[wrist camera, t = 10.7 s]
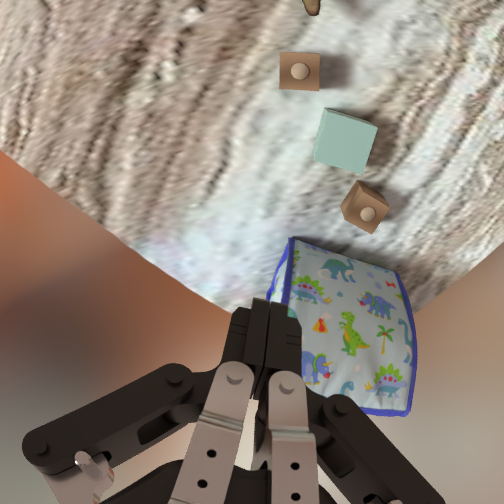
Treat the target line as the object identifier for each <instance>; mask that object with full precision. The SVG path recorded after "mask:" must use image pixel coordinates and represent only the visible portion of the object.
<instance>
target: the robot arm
mask: <svg viewBox="0 0 504 504" xmlns="http://www.w3.org/2000/svg"><path fill="white" fill-rule="evenodd" d="M253 393H254V394H253ZM252 395H253V399H254V400H259V403H258V410H257V412H256V415H255V428H254V429H255V430H254V452H253V460H252V464H251V470H250V471H249V470H245V469H243V468H240V467H238V466H235V465H234V462H235V459H236V455H237V451H238V447H239V443H240V439H241V435H242V431H243V423H244V419H245V415H246V410H247V407H248V402H249V399H251V398H252ZM192 422H193V423H194V422H197V424H196V427H195V430H194V432H193V435H192V438H191V441H190V444H189V447H188V450H187V452H186V455H185V458H184V459H183V460H176V461H172V462H169V463H166V464H164V465H161V466H159V467H158V468H156V469H155V470H153V471H152V472H150V473H149V474H147V475H146V476H144V477H142V478H141V479H139V480H138V481H136V482H134V483H133V484H131V485H130V486H128V487H126V488H125V489H123V490H121V491H120V492H118V493H116V494H115V495H113V496H111V497H109V498H108V499H106V500H104V501H102V502H101V503H100V499H101V496H102V494H103V493H104V492H105V491H106V490H107V489H108V488H110V487H111V486H112V484H113V482H114V472H113V469H112V468H114V467H116V466H118V465H120V464H121V463H123V462H125V461H127V460H128V459H130V458H132V457H134V456H136V455H138V454H139V453H141V452H143V451H144V450H146V449H148V448H150V447H151V446H153V445H155V444H156V443H158V442H160V441H161V440H163V439H165V438H166V437H168V436H170V435H171V434H173V433H174V432H176V431H178V430H179V429H181V428H183V427H184V426H186V425H187V424H188V423H192ZM22 451H23V454H24V456H25V457H26V459H27V460H28V461H29V462H30V463H31V464H33V465H34V467H35V468H36V469H37V470H38V471H39V472H40V473H41V474H43V475H44V477H45V479H46V480H47V482H48V484H49V486H50V488H51V489H52V491H53V493H54V494H55V496H56V498H57V499H58V501H59V502H60V504H337V503H336V502H335V500H334V499H333V498H332V497H331V495H330V494H329V493H328V492H327V491H326V490H325V489H324V488H323V487H322V486H321V485H319V484H318V469H317V464H318V465H319V466H320V467H321V468H322V470H323V471H324V472H325V473H326V475H327V476H328V477H329V478H330V479H331V481H332V482H333V483H334V484H335V485H336V487H337V488H338V489H339V490H340V491H341V493H342V494H343V495H344V496H345V497H346V498H347V500H348V501H349V502H350V503H351V504H446V503H445V501H444V499H443V498H442V497H441V495H439V493H438V492H437V491H436V490H435V489H434V488H433V487H432V486H431V485H430V484H429V483H428V482H427V481H426V479H425V478H424V477H423V476H422V475H421V474H420V473H419V472H418V471H417V470H416V469H415V468H414V467H413V466H412V464H411V463H410V462H409V461H408V460H407V459H406V458H405V457H404V456H403V455H402V454H401V453H400V452H399V450H398V449H397V448H396V447H395V446H394V445H393V444H392V443H391V442H390V441H389V439H388V438H387V437H386V436H385V435H384V434H383V433H382V432H381V431H380V430H379V428H378V427H377V426H376V425H375V424H374V423H373V422H372V421H371V420H370V419H369V417H368V416H367V415H366V414H365V413H364V412H363V411H362V410H361V408H360V407H359V406H358V405H357V404H356V403H355V402H354V401H353V400H352V399H351V398H350V397H348V396H346V395H343V394H333V395H331V396H329V397H328V398H327V397H325V396H322V395H320V394H318V393H316V392H314V391H312V390H311V389H309V388H308V387H307V386H306V385H305V383H304V381H303V379H302V327H301V325H300V323H299V321H298V319H297V318H293V317H288V304H284V303H279V302H274V301H271V302H270V301H269V300H264V299H259V298H254V297H253V301H252V305H251V309H248V308H243V307H238V308H237V309H236V310H235V311H234V313H233V314H232V317H231V321H230V326H229V331H228V334H227V339H226V343H225V347H224V351H223V355H222V359H221V362H220V364H219V365H218V366H217V367H216V368H215V369H213V370H210V371H207V372H195V373H192V372H191V370H190V369H189V368H187V367H185V366H184V365H181V364H176V363H171V364H166V365H164V366H162V367H160V368H158V369H156V370H154V371H153V372H151V373H149V374H147V375H145V376H143V377H141V378H139V379H137V380H135V381H133V382H131V383H130V384H128V385H126V386H124V387H122V388H120V389H118V390H116V391H114V392H112V393H110V394H108V395H106V396H104V397H102V398H100V399H98V400H96V401H94V402H91V403H89V404H88V405H86V406H83V407H81V408H79V409H77V410H75V411H73V412H71V413H69V414H66V415H64V416H62V417H60V418H58V419H56V420H54V421H51V422H49V423H47V424H45V425H43V426H40V427H38V428H36V429H34V430H32V431H30V432H29V433H27V434H26V435H25V437H24V439H23V442H22Z"/></svg>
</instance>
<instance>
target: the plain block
mask: <svg viewBox="0 0 504 504" xmlns="http://www.w3.org/2000/svg"><path fill="white" fill-rule="evenodd" d="M377 129H378V127H376V126H375V125H373V124H372V123H371V122H369V121H366V120H363V119H360V118H357V117H354V116H350V115H347V114H344V113H341V112H337V111H334V110H331V109H327V108H324V110H323V114H322V117H321V121H320V125H319V128H318V132H317V136H316V139H315V143H314V146H313V150H312V154H313V158H314V161H317V162H321V163H324V164H328V165H331V166H335V167H338V168H342V169H345V170H348V171H352V172H355V173H358V174H362V175H363V172H364V169H365V166H366V163H367V160H368V157H369V154H370V151H371V148H372V145H373V141H374V138H375V135H376V132H377Z"/></svg>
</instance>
